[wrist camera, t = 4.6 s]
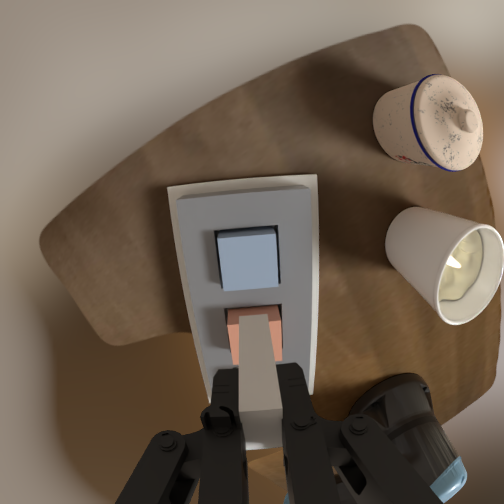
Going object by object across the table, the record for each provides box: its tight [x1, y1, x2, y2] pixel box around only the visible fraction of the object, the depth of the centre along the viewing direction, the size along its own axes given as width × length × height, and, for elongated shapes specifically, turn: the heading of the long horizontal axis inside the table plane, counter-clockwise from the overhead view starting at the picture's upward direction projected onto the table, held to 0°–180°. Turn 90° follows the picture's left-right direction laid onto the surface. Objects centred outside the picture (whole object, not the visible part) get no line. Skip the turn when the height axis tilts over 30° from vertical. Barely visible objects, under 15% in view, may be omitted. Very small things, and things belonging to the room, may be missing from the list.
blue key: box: [217, 226, 279, 291], centre depth 27 cm, size 5×5×3 cm
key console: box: [167, 174, 319, 403], centre depth 31 cm, size 30×15×4 cm, turn 4°
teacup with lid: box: [373, 74, 483, 172], centre depth 21 cm, size 12×9×12 cm
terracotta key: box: [227, 305, 282, 365], centre depth 28 cm, size 5×5×3 cm
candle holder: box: [385, 207, 504, 325], centre depth 25 cm, size 10×10×12 cm
